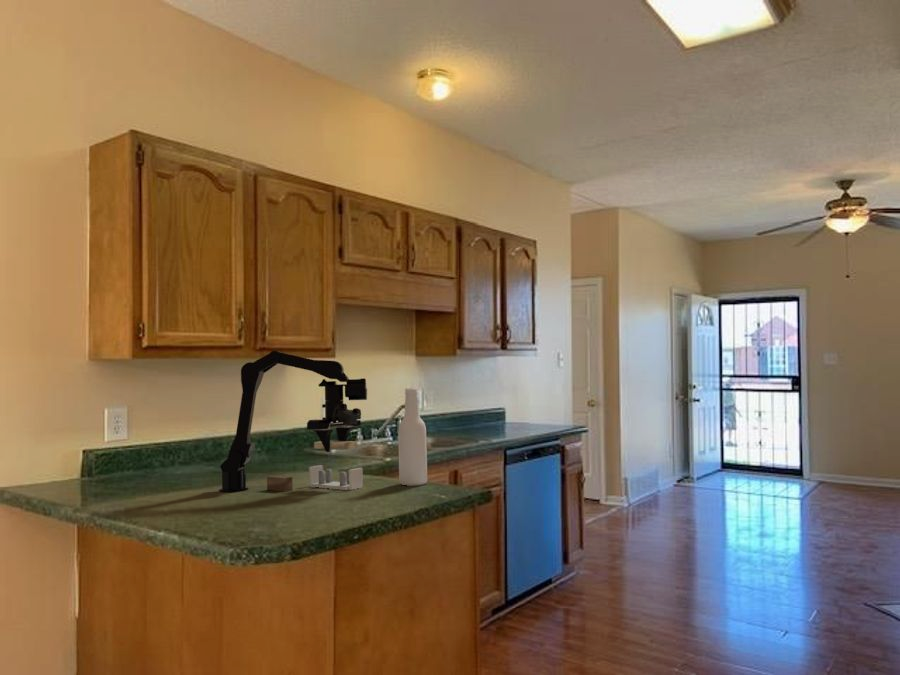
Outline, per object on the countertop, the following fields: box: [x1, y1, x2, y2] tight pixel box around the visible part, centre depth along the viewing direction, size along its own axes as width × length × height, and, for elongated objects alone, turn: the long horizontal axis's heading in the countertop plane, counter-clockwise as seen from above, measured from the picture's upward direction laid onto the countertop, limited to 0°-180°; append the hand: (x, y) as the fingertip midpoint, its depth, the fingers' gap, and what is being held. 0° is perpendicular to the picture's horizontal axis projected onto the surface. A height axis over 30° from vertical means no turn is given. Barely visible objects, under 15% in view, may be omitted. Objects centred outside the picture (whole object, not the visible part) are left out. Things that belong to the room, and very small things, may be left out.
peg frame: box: [308, 464, 364, 491], centre depth 216 cm, size 7×18×6 cm, turn 56°
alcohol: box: [397, 387, 428, 487], centre depth 218 cm, size 9×9×30 cm
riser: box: [266, 475, 293, 493], centre depth 212 cm, size 3×8×4 cm, turn 56°
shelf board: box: [313, 440, 357, 451], centre depth 216 cm, size 6×12×2 cm, turn 56°
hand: (334, 450), depth 216 cm, fingers closed on shelf board, 6 cm apart
